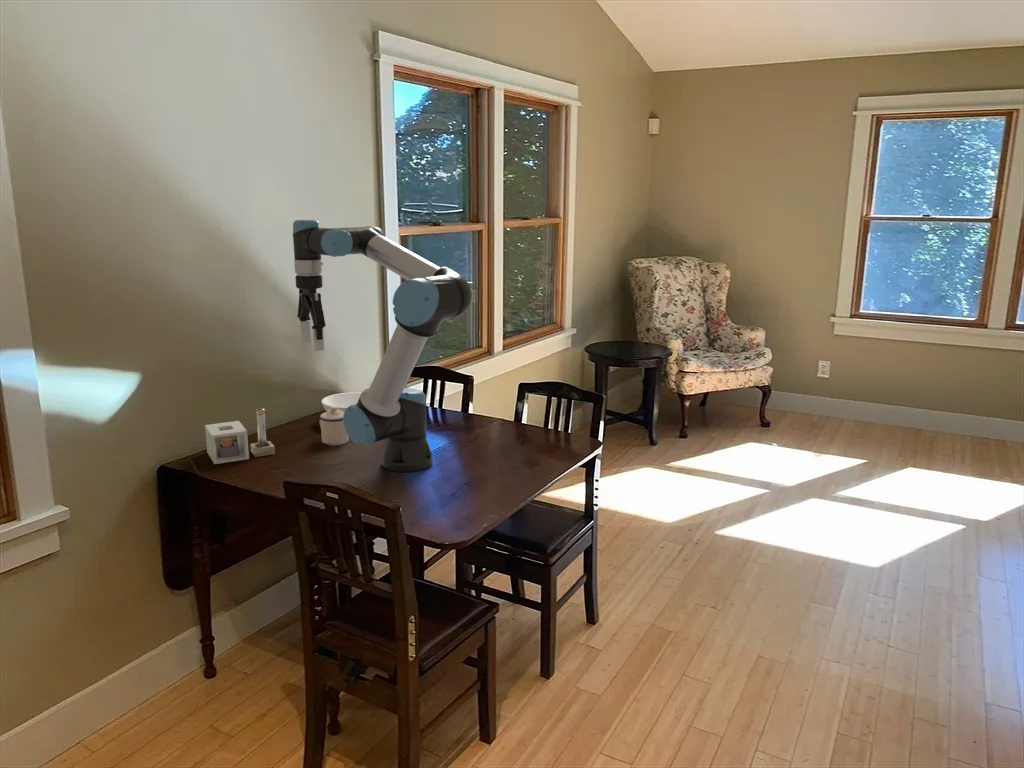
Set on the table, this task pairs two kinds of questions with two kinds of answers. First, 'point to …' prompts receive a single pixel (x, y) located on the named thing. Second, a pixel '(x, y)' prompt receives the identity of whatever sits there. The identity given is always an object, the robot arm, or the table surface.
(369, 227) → the robot arm
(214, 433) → the white hollow frame cube
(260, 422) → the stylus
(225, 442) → the button
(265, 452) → the stylus stand
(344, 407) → the bowl
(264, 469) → the table surface
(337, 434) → the teacup with lid
